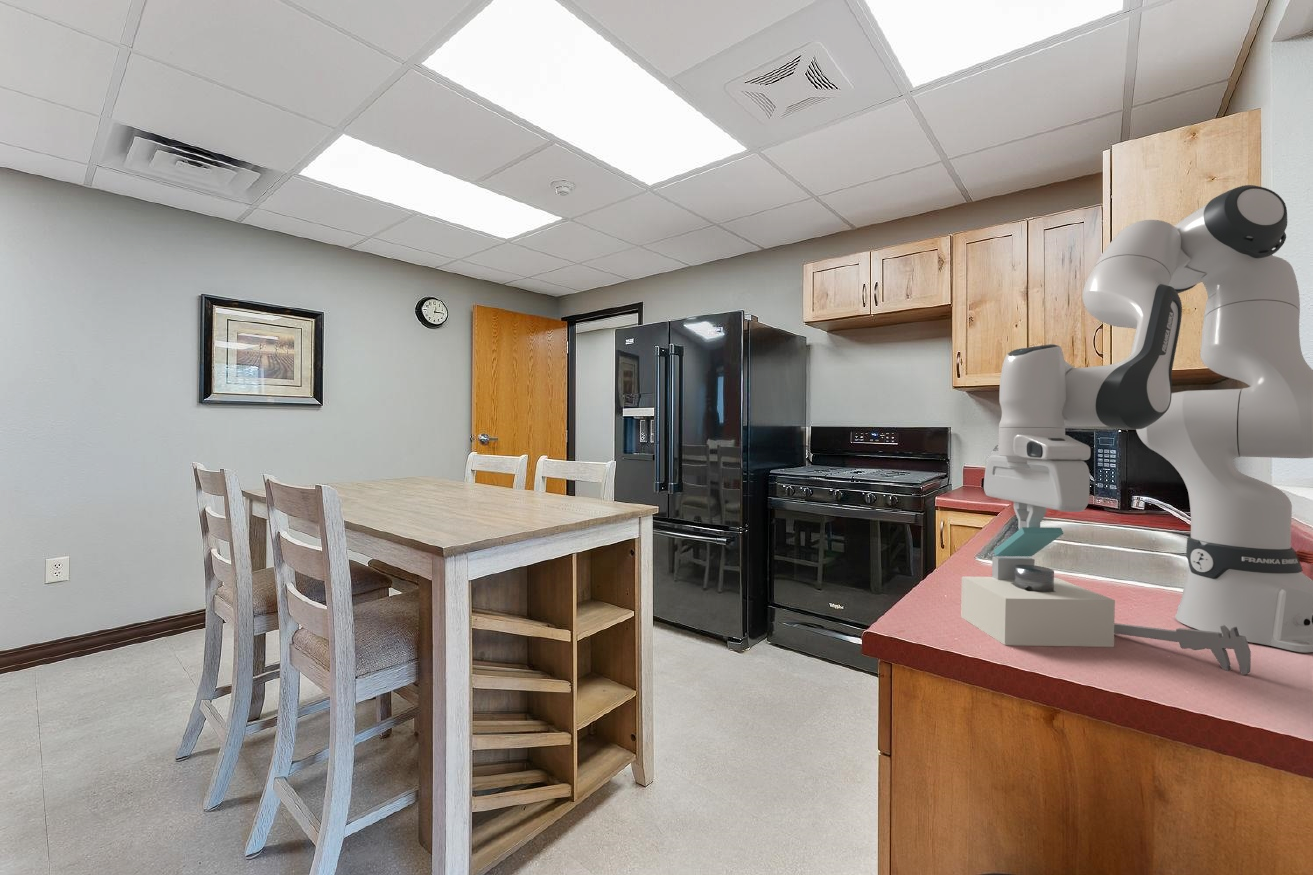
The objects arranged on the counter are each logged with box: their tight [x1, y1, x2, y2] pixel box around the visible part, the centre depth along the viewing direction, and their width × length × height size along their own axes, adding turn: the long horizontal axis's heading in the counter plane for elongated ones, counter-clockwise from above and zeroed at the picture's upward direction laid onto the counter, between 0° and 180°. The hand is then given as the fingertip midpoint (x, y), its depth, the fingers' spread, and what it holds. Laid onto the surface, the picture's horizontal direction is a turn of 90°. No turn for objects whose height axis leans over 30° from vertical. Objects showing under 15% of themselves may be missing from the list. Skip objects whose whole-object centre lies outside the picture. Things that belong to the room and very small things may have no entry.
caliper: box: [1114, 622, 1252, 676], centre depth 81 cm, size 20×1×6 cm, turn 25°
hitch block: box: [960, 556, 1116, 648], centre depth 87 cm, size 16×12×10 cm
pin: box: [1014, 564, 1055, 592], centre depth 87 cm, size 5×5×10 cm
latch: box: [993, 526, 1064, 557], centre depth 88 cm, size 6×9×1 cm
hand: (1029, 531), depth 87 cm, fingers closed
